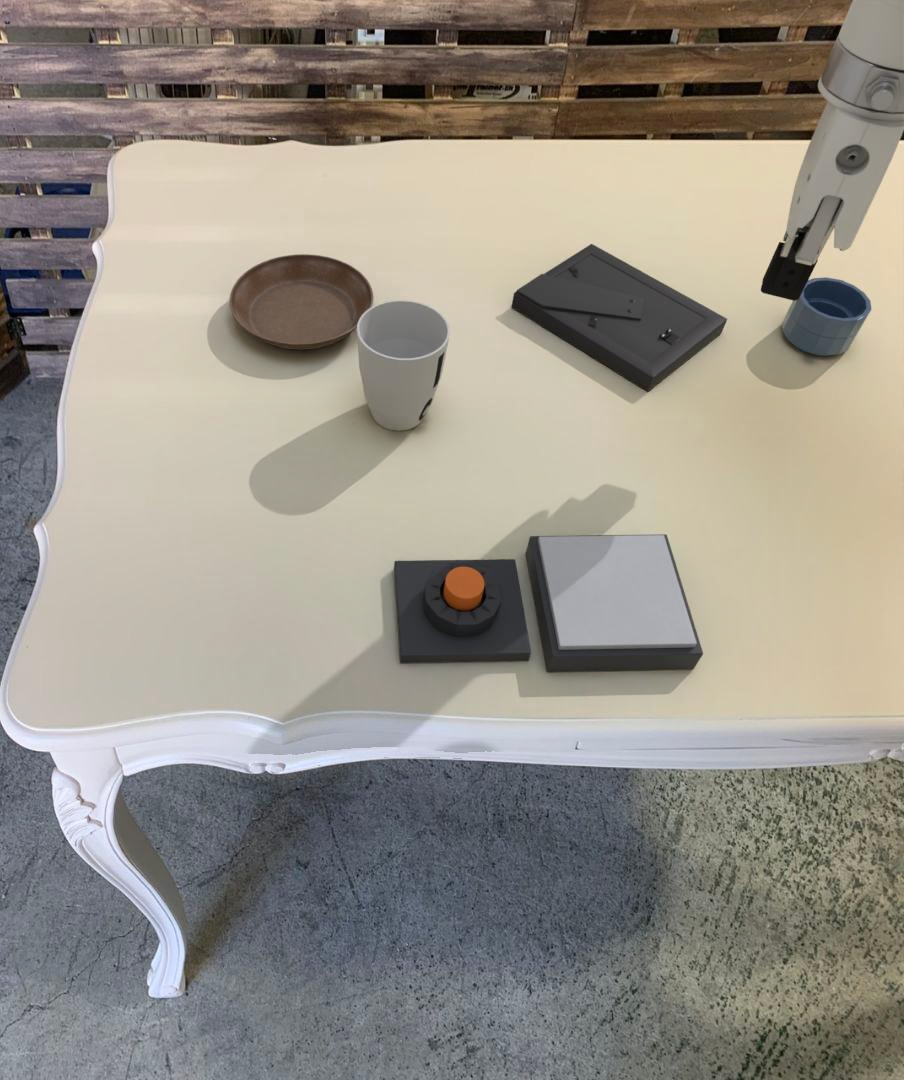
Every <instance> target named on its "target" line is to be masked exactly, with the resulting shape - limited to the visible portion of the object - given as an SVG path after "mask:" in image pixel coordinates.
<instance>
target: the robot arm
mask: <svg viewBox="0 0 904 1080" xmlns="http://www.w3.org/2000/svg"><path fill="white" fill-rule="evenodd" d="M817 90H818V92H819V93H820V95H821V97H823V98H824V99H825V100H826V101H827V102H826V104H825V106H824V109H823V111H822V113H821V116H820V118H819V120H818V123H817V125H816V127H815V129H814V132H813V134H812V136H811V139H810V142H809V143H808V146H807V149H806V151H805V154H804V157H803V160H802V163H801V165H800V168H799V171H798V174H797V178H796V181H795V184H794V188H793V192H792V196H791V202H790V206H789V211H788V216H787V217H788V218H787V223H786V229H785V233H784V235H783V238H782V242H781V241H779V242H778V244H777V246H776V249H775V251H774V252H773V255H772V258H771V259H770V262H769V264H768V266H767V268H766V271H765V273H764V275H763V278H762V281H761V286H760V292H761V293H762V294H765V295H770V296H773V297H777V298H781V299H785V300H790V301H793V300H794V301H795V300H798V299H799V298H800V296H801V294H802V292H803V290H804V288H805V286H806V283H807V281H808V280H810V277H811V275H812V273H813V272H814V269H815V267H816V266H817V263H818V260H819V257H820V255H821V253H822V252H823V250H824V248H825V246H826V244H827V242H828V240H829V239H830V238H831V237H830V236H831V235H832V233H833V248H834V249H839V251H841V252H845V251H847V250H849V249H850V248H851V247H852V245H853V243H854V242H855V239H856V237H857V235H858V233H859V230H860V229H861V226H862V224H863V222H864V220H865V218H866V217H867V216H866V215H867V213H868V211H869V209H870V207H871V205H872V203H873V201H874V199H875V197H876V195H877V193H878V190H879V188H880V187H881V184H882V182H883V180H884V177H885V175H886V173H887V171H888V169H889V166H890V165H891V162H892V160H893V158H894V155H895V153H896V150H897V148H898V146H899V143H900V140H901V139H902V136H903V133H904V0H852V1H851V3H850V6H849V8H848V11H847V13H846V16H845V18H844V20H843V23H842V25H841V28H840V30H839V32H838V35H837V37H836V39H835V42H834V43H833V46H832V48H831V51H830V53H829V56H828V58H827V61H826V63H825V66H824V67H823V70H822V73H821V74H820V78H819V80H818V82H817Z"/></svg>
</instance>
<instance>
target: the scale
mask: <svg viewBox="0 0 904 1080" xmlns="http://www.w3.org/2000/svg"><path fill="white" fill-rule="evenodd" d="M524 555H525V558H526V564H527V570H528V576H529V581H530V586H531V591H532V592H531V593H532V597H533V603H534V608H535V615H536V619H537V626H538V631H539V636H540V643H541V647H542V651H543V658H544V663H545V670H546V673H571V672H572V673H573V672H574V673H575V672H577V673H580V672H618V671H619V672H623V671H624V672H627V671H629V672H631V671H675V670H676V671H677V670H678V671H680V670H681V671H682V670H694V669H695V668H696V666H697V665H698V663H699V662H700V660H701V658H702V657H703V655H704V651H703V648H702V645H701V642H700V638H699V636H698V632H697V628H696V625H695V623H694V619H693V616H692V613H691V609H690V605H689V603H688V598H687V596H686V592H685V589H684V586H683V583H682V580H681V577H680V573H679V570H678V567H677V564H676V560H675V557H674V554H673V551H672V547H671V543H670V541H669V537H668V534H665V533H663V534H599V535H598V534H593V535H588V534H586V535H584V534H583V535H530V536H529V539H528V543H527V547H526V550H525V554H524Z"/></svg>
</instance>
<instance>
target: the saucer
mask: <svg viewBox="0 0 904 1080" xmlns="http://www.w3.org/2000/svg"><path fill="white" fill-rule="evenodd" d="M373 306H374V291H373V288H372V285H371V284H370V282H369V280H368V279H367V278H366V277H365V275H364V274H363V273H362V272H361V271H360V270H359V269H357V268H355V267H354V266H352V265H350V264H349V263H347V262H344V261H342V260H339V259H337V258H333V257H330V256H325V255H319V254H307V253H306V254H305V253H304V254H303V253H301V254H299V253H297V254H289V255H283V256H277V257H273V258H270V259H268V260H264V261H262V262H260V263H258V264H256V265H254V266H252V267H251V268H249V269H248V270H246V271H245V272H244V273H242V274H241V275H240V276H239V278H238V279H237V280H236V282H235V283H234V284H233V287H232V288H231V290H230V294H229V308H230V311H231V314H232V316H233V317H234V319H235V320H236V321H237V323H238V324H239V325H240V326H241V327H242V328H243V329H245V331H247V332H248V333H249V334H250V335H252V336H253V337H254V338H257V339H258V340H260V341H262V342H264V343H267V344H269V345H271V346H275V347H279V348H281V349H288V350H297V351H298V350H313V349H319V348H323V347H326V346H329V345H332V344H334V343H336V342H339V341H341V340H342V339H344V338H346V337H347V336H349V335H350V334H352V333H353V332H354V331H355V330H357V324H358V321H359V319H360V317H361V316H362V315H363V313H364V312H366V311H367V310H368V309H369V308H371V307H373Z"/></svg>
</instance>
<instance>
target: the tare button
mask: <svg viewBox="0 0 904 1080" xmlns="http://www.w3.org/2000/svg"><path fill="white" fill-rule="evenodd" d="M484 585H485V584H484V579H483V577H482V575H481V574H480V573H479V572H478V571H476V570H475V569H473V568H470V567H457V568H455V569H453V570H451V571H450V572H449V573H448V574H447V576H446V580H445V586H444V592H443V595H444V599H445V601H446V602H447V604H448V605H449V606H451V607H452V608H454V609H456V610H460V611H468V610H472V609H474V608H475V607H477V606H478V605H479V603H480V602H481V599H482V594H483V590H484Z"/></svg>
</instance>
